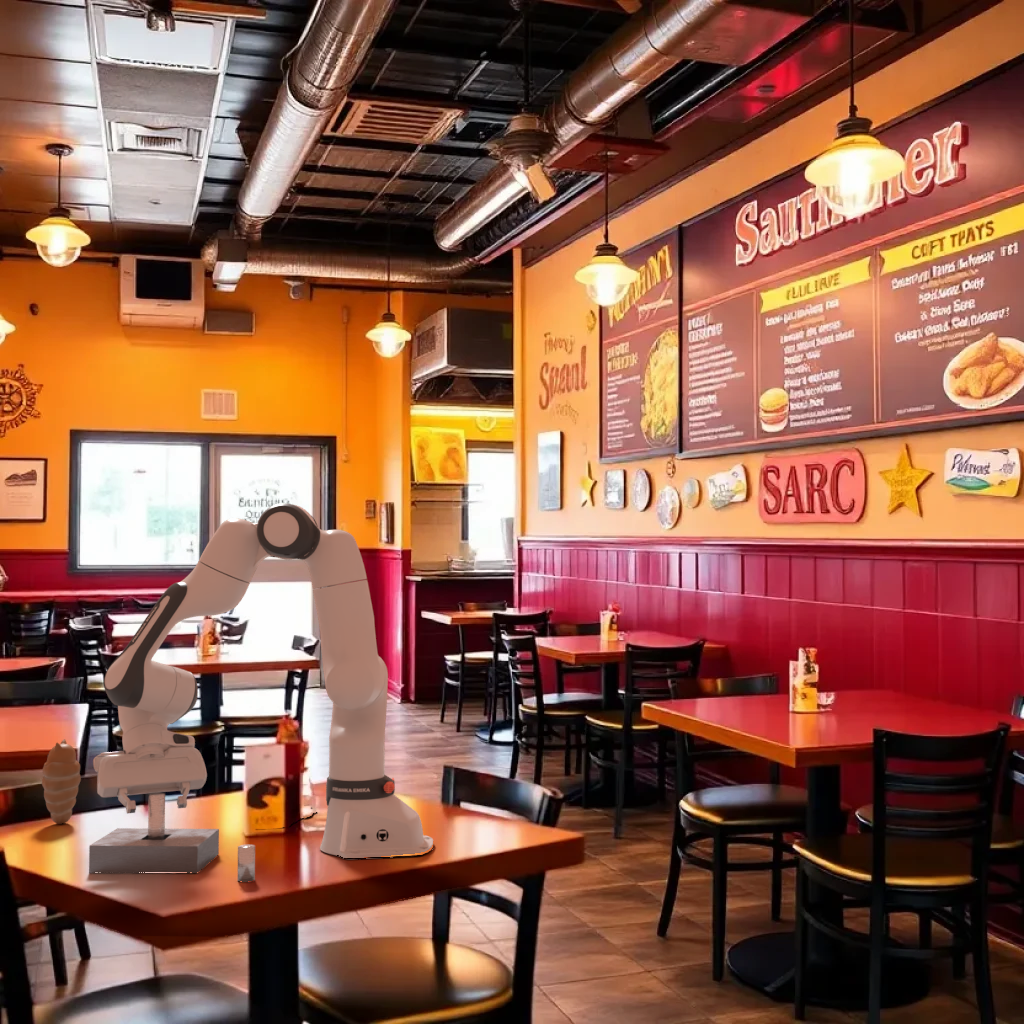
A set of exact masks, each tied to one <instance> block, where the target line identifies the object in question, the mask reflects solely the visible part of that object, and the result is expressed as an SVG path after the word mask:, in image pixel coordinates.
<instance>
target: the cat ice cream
mask: <svg viewBox="0 0 1024 1024" xmlns="http://www.w3.org/2000/svg"><path fill="white" fill-rule="evenodd" d="M45 757H47V760H46V762H44V764H43V767H42V775H43V777H42V778H41V785H42V788H43V789H44V790H43V797H44V798H43V799H44V800H45V805H46V809H47V811H48V812H49V813H50V818H51V820H52V821H53V822H54V823H55V824H56V825H63V824H62V823H64V824H66V823H67V822H69V820H70V819H71V817H72V815H73V808H74V806H75V805H76V804H77V803H76V802H77V798H76V797H77V795H78V793H79V785H80V782H81V781H82V779H81V778H82V777H81V774H80V771H81V764H80V763H79V761H77V753H76V750H75V748H74V746H72V745H71V744H68V743H67V740H66V739H62V740H61V742H60V743H58V742H55V746H53V747H52V748H51V749H50V751H48V753H47V756H45Z"/></svg>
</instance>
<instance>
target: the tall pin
mask: <svg viewBox="0 0 1024 1024" xmlns="http://www.w3.org/2000/svg"><path fill="white" fill-rule="evenodd" d="M147 816H148V817H147V822H148V825H147V826H148V827H147V829H148V840H165V829H166V828H165V825H166V792H158V793H148V815H147Z"/></svg>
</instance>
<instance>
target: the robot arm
mask: <svg viewBox="0 0 1024 1024" xmlns="http://www.w3.org/2000/svg"><path fill="white" fill-rule="evenodd" d="M269 557H270V558H278V559H280V560H286V561H287V560H288V561H290V560H301V561H303V562H304V563H305V565H306V567H307V569H308V572H309V575H310V581H311V586H312V593H313V596H314V597H313V598H314V603H315V609H316V613H317V614H316V616H317V620H318V626H319V633H320V634H319V636H320V646H321V647H320V649H321V659H322V668H323V669H322V670H323V676H324V684H325V685H324V686H325V691H326V694H327V697H328V698H329V699H330V700H331V702H332V709H331V710H332V711H331V713H332V714H331V721H330V722H331V723H330V730H329V737H328V738H329V739H328V740H329V742H328V745H329V747H328V753H329V757H328V759H329V760H328V777H326V783H325V800H326V805H327V810H326V811H327V813H326V819H325V826H324V831H323V837H322V840H321V843H320V847H319V849H320V850H321V852H324V853H326V854H329V855H333V856H337V855H339V856H338V857H340V856H341V857H343V858H342V859H344V858H364V857H381V856H391V855H403V854H415V853H421V852H425V851H427V850H429V849H430V848H431V847H432V845H433V841H434V839H433V837H431V836H428V835H427V834H426V835H424V831H423V830H424V829H423V825H422V820H421V817H420V815H419V813H418V812H417V811H416V810H415V809H413V808H412V807H411V806H409V805H408V804H407V803H406V802H404V801H403V800H402V799H400V798H399V797H398V796H397V795H395V791H396V788H395V787H396V786H395V783H396V782H395V778H394V777H392V778H391V777H389V776H388V775H386V774H385V772H386V771H385V770H386V769H385V761H386V760H385V759H386V758H385V757H386V756H385V754H386V751H385V748H386V744H385V741H386V724H387V722H386V720H387V707H388V705H387V704H388V686H389V685H388V681H389V673H388V667H387V665H386V663H385V661H384V660H383V659H382V657H381V656H379V653H378V645H377V639H376V638H377V635H376V627H375V626H376V625H375V615H374V614H375V613H374V609H373V604H372V599H371V598H372V597H371V592H370V586H369V582H368V577H367V573H366V568H365V564H364V562H363V561H364V560H363V557H362V554H361V552H360V549H359V546H358V543H357V541H356V538H355V537H354V535H352V533H350V532H348V531H345V530H342V529H328V530H327V529H326V530H325V529H321V528H319V526H318V524H317V521H316V520H315V518H314V517H313V516H312V515H311V514H310V512H309V511H307V510H306V509H304V508H303V507H301V506H299V505H298V504H297V505H296V504H293V503H292V504H291V503H287V502H286V503H285V502H283V503H282V502H281V503H276V504H273V505H271V506H270V507H268V508H267V509H265V510H264V511H263V512H262V514H261V515H260V517H259V519H258V520H257V522H252V521H249V520H246V519H243V518H229V519H226V520H224V521H223V522H222V523H221V524H220V525H219V527H218V528H217V529H216V531H215V532H214V534H213V535H212V537H211V538H210V539H209V541H208V542H207V544H206V547H205V548H204V550H203V552H202V554H201V556H200V557H199V560H198V562H197V563H196V564H195V567H194V568H193V569H192V571H191V572H190V573H189V574H188V575H187V576H186V577H184V579H182V580H181V581H179V582H174V583H173V584H171V585H170V586H169V587H167V589H166V590H165V591H164V592H163V594H162V595H161V596H160V598H158V600H157V601H156V603H155V604H154V606H153V607H152V609H151V610H150V611H149V613H148V615H147V616H146V617H145V619H144V620H143V622H142V623H141V625H140V626H139V628H138V629H137V630H136V632H135V633H134V635H133V636H132V638H131V640H130V641H129V642H128V644H127V645H126V647H125V648H124V650H122V652H120V653H119V655H118V656H117V657H116V658H115V659H114V660H113V661H112V662H111V664H110V665H109V667H108V668H107V669H106V670H107V671H106V672H105V674H104V675H105V676H104V678H103V687H104V690H105V693H106V694H107V695H106V696H107V698H108V699H109V700H110V701H111V703H112V704H113V705H114V706H117V710H118V711H117V713H118V721H119V726H120V729H121V730H122V748H123V749H122V750H119V751H116V750H115V751H112V752H111V751H110V752H109V751H108V752H107V751H105V752H101V753H100V754H98V755H96V756H94V758H93V760H92V764H93V765H92V766H93V769H94V771H95V772H96V773H97V779H96V782H97V783H96V791H97V792H96V793H97V794H98V795H99V796H100V797H101V798H112V797H113V798H114V797H117V798H118V801H119V802H120V803H121V804H122V805H123V806H124V807H125V810H126V811H125V812H126V814H135V813H136V811H137V805H136V800H131V799H130V798H129V797H128V796H134V795H135V796H136V795H143V794H144V795H146V794H152V793H166V792H167V793H168V792H176V791H178V792H180V794H182V795H179V796H177V799H176V805H177V808H178V809H186V808H187V806H188V800H187V799H188V798H187V797H188V796H189V793H190V790H199V789H202V788H203V787H204V785H205V784H206V781H207V779H208V778H207V777H208V773H207V768H206V764H205V760H204V758H203V756H202V754H201V752H200V750H198V749H197V748H196V747H195V745H196V743H195V742H196V740H195V738H194V736H192V735H189V734H183V733H177V732H175V731H171V730H168V726H169V725H173V724H174V723H176V722H178V721H179V720H180V719H182V718H183V717H184V716H186V715H187V714H188V713H190V712H191V710H192V709H193V708H195V705H196V704H197V700H198V695H199V694H198V693H199V692H198V690H199V689H198V683H197V680H196V677H195V675H194V674H193V673H192V672H191V671H188V670H186V669H183V668H180V667H176V666H173V665H171V664H170V665H167V664H164V663H161V662H158V661H154V660H152V659H153V657H154V655H155V654H156V653H157V651H158V650H159V648H160V647H161V646H162V644H163V643H164V641H165V639H166V638H167V636H168V634H169V633H170V632H171V631H172V629H173V628H174V627H175V626H176V625H177V624H179V623H180V622H182V621H184V620H186V619H191V618H195V617H196V618H197V617H205V616H206V617H208V616H217V615H222V614H224V613H225V614H226V613H228V612H229V611H232V610H233V609H235V608H236V607H237V606H238V605H239V604H240V602H241V601H242V600H243V598H244V597H245V595H246V592H247V591H248V588H249V586H250V584H251V582H252V580H253V577H254V575H255V572H256V571H257V569H258V567H259V566H260V565H261V563H262V562H263V561H264V560H265V559H268V558H269ZM341 857H340V858H341Z"/></svg>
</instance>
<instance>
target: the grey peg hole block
mask: <svg viewBox="0 0 1024 1024" xmlns="http://www.w3.org/2000/svg"><path fill="white" fill-rule="evenodd" d="M219 843H220V828H165V840H148V828H136V827H134V828H127V827H126V828H123V827H122V828H120V827H119V828H118V827H117V828H116V829H114V830H113V831H111V832H109V833H107V834H105V835H104V836H103V837H101V838H100V839H98V840H97V841H94V842H93V843H91V844H89V847H88V849H89V850H88V851H89V853H88V860H89V861H88V868H89V869H88V873H89V874H96V873H95V872H98V873H97V874H123V873H139V872H140V873H141V872H142V873H143V872H144V873H145V872H187V873H190V872H192V873H197V872H199V871H200V870H201V869H202V868H203V869H205V868H206V867H207V866H208V865H209V864H210V863H211V862H212V861H214V860H215V859H216V858H217V857H218V856H219V855H220V853H219V852H220V851H219V850H220V849H219V848H220V847H219V846H220V844H219ZM218 854H219V855H218ZM217 855H218V856H217ZM216 856H217V857H216ZM215 857H216V858H215ZM214 858H215V859H214ZM211 860H212V861H211ZM209 862H210V863H209ZM208 863H209V864H208ZM207 864H208V865H207ZM206 865H207V866H206ZM205 866H206V867H205ZM204 867H205V868H204ZM203 869H202V870H203ZM202 870H201V871H202ZM201 871H200V872H201ZM99 872H101V873H99ZM200 872H199V873H200Z"/></svg>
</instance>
